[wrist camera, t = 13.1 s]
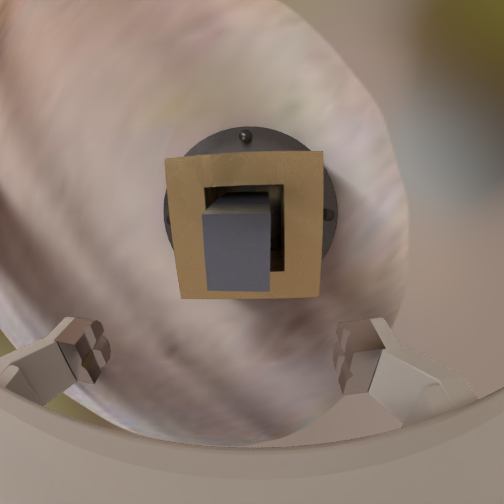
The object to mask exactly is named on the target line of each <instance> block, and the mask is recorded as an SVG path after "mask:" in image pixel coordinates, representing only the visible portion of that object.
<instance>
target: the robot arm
mask: <svg viewBox="0 0 504 504" xmlns="http://www.w3.org/2000/svg"><path fill="white" fill-rule="evenodd" d="M103 332H104V329H103V326H102V324H101V322H99V321H98V320H91V319H84V318H76V317H65V318H64V319H63V320H62V321H61V322H60V323H59V324H58V325H57V326H56V327H55V328H54V329H53V330H52V331H51V333H50V334H49V335H48V336H47V337H46V338H45V339H43V338H42V339H40V340H37V341H35V342H33V343H31V344H29V345H26V346H24V347H22V348H20V349H18V350H15V351H14V352H11V353H9V354H7V355H4V356H2V357H0V504H504V387H503V388H501V389H499V390H497V391H495V392H493V393H491V394H489V395H487V396H485V397H483V398H481V399H478V397H477V396H476V394H475V393H474V392H473V390H472V388H471V387H470V385H469V384H468V382H467V381H466V379H465V378H464V376H463V375H462V374H461V373H459V372H457V371H455V370H453V369H451V368H449V367H447V366H445V365H443V364H441V363H439V362H437V361H435V360H433V359H431V358H429V357H427V356H425V355H423V354H421V353H419V352H417V351H415V350H413V349H411V348H409V347H407V346H401V344H400V343H399V341H398V339H397V338H396V336H395V335H394V333H393V332H392V330H391V329H390V327H389V325H388V324H387V322H386V321H385V319H384V318H382V317H379V318H372V319H367V320H359V321H349V322H339V323H338V325H337V330H336V334H337V337H338V340H337V341H336V342H335V344H334V350H333V361H334V366H335V370H336V371H337V372H338V373H340V376H339V384H340V387H341V390H342V394H343V395H349V394H358V393H365V392H368V394H369V395H371V396H372V397H373V398H374V399H375V400H376V401H378V402H379V403H380V404H381V405H382V406H383V407H385V408H386V409H387V410H388V411H389V412H390V413H392V414H393V415H394V416H395V417H396V418H398V419H399V420H400V421H401V422H402V423H403V425H402V427H401V428H400V429H396V430H392V431H388V432H384V433H380V434H376V435H371V436H366V437H361V438H356V439H350V440H344V441H338V442H331V443H323V444H314V445H305V446H292V447H272V448H236V447H215V446H203V445H192V444H184V443H176V442H169V441H163V440H157V439H152V438H146V437H141V436H137V435H132V434H128V433H124V432H119V431H116V430H112V429H108V428H104V427H101V426H97V425H94V424H90V423H87V422H85V421H81V420H79V419H76V418H73V417H70V416H67V415H64V414H62V413H59V412H57V411H54V410H51V409H49V408H47V407H44V405H46V404H47V403H48V402H50V401H51V400H52V399H54V398H55V397H57V396H58V395H59V394H60V393H62V392H63V391H65V390H66V389H67V388H69V387H70V386H71V385H73V384H74V383H76V382H77V381H81V382H86V383H90V384H95V382H96V380H97V379H98V377H99V376H100V374H101V367H103V366H104V365H106V364H107V362H108V361H109V359H110V353H111V351H110V345H109V342H108V340H107V339H106V338H105V337H104V336H103ZM76 380H77V381H76Z"/></svg>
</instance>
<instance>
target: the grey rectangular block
mask: <svg viewBox="0 0 504 504" xmlns="http://www.w3.org/2000/svg"><path fill="white" fill-rule="evenodd" d="M202 226H203V241H204V256H205V268H206V281H207V291H247V292H270V234H271V212H270V203H269V193H268V191H244V192H224V193H223V194H222V195H221V196H220V197H219V198H218V199H217V200H216V201H215V202H214V203H213V204H212V205H211V206H210V207H209V208H208V209H207V210H206V211H205V212H204V213H203V214H202Z"/></svg>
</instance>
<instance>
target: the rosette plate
mask: <svg viewBox="0 0 504 504" xmlns="http://www.w3.org/2000/svg"><path fill="white" fill-rule="evenodd" d="M165 172H166V184H167V189H166V194H165V198H164V222H165V228H166V232H167V235H168V238H169V241H170V243H171V246H172V248H173V250H174V255H175V262H176V269H177V275H178V281H179V288H180V293H181V299H274V298H306V297H319V290H320V275H321V261H322V259H323V258H324V257H325V255H326V253H327V251H328V249H329V248H330V245H331V243H332V240H333V237H334V234H335V229H336V224H337V201H336V195H335V191H334V187H333V184H332V181H331V179H330V177H329V175H328V173H327V171H326V169H325V168H324V166H323V151H310V150H309V149H308V148H307V147H306V146H305V145H303V144H302V143H300V142H299V141H297V140H296V139H294V138H293V137H291V136H288V135H286V134H284V133H282V132H279V131H276V130H272V129H268V128H262V127H238V128H231V129H227V130H224V131H220V132H218V133H216V134H213V135H211V136H209V137H207V138H206V139H204V140H202V141H201V142H199V143H198V144H197V145H195V146H194V147H193V148H192V149H190V150H189V152H188V153H187V154H186V155H185V156H184V157H177V158H168V159H165ZM244 191H268V193H269V203H270V212H271V234H270V292H247V291H207V281H206V268H205V256H204V241H203V226H202V214H203V213H204V212H205V211H206V210H207V209H208V208H209V207H210V206H211V205H212V204H213V203H214V202H215V201H216V200H217V199H218V198H219V197H220V196H221V195H222V194H223V193H224V192H244Z"/></svg>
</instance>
